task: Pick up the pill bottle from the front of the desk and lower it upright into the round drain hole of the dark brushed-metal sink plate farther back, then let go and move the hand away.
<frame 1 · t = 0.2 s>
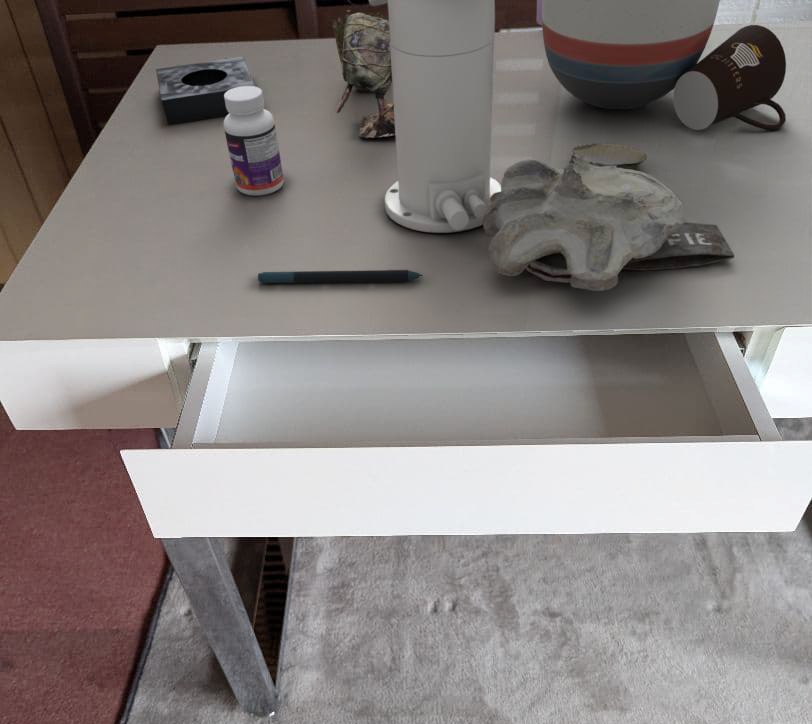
planter: (615, 101, 100), on the table, touching coffee mug
green rounded lump: (367, 89, 108), on the table
clip: (602, 23, 120), on the table
plant with pod: (385, 130, 99), on the table
pill bottle: (261, 187, 90), on the table
seashell: (604, 172, 88), on the table
fossil: (608, 228, 79), touching dark snack bar packet
dark snack bar packet: (622, 260, 76), on the table, touching fossil
pen: (403, 283, 72), point 2 cm above the table
coffee mug: (704, 106, 91), point 3 cm above the table, touching planter
headphones: (378, 51, 118), on the table
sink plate: (209, 101, 108), on the table
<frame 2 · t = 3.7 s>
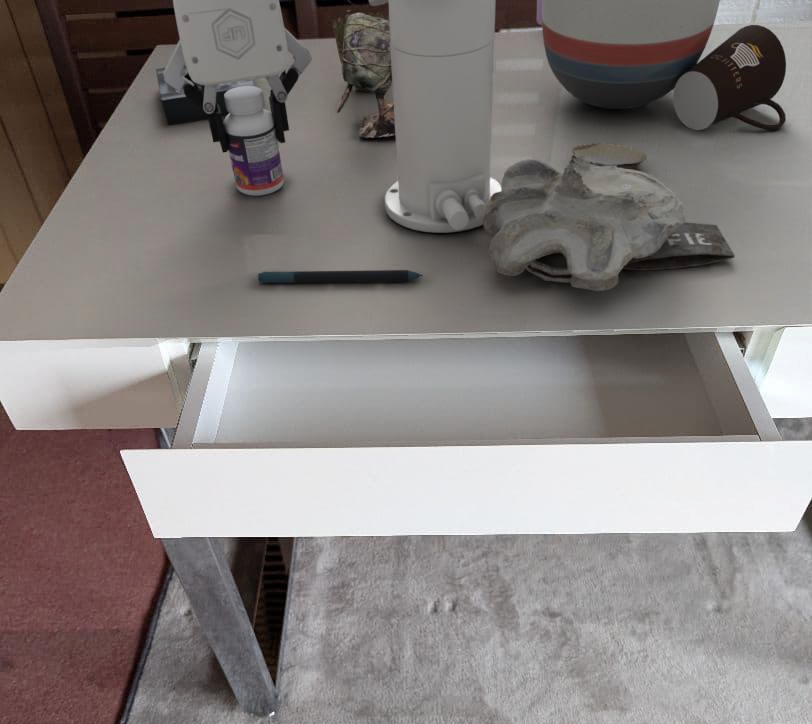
hand: (252, 141, 86), 5 cm above the table, tool pointing down, fingers closed on pill bottle, 5 cm apart
planter: (615, 101, 100), on the table
pill bottle: (261, 187, 90), on the table, touching gripper
coffee mug: (704, 106, 91), point 3 cm above the table
everything else where it was.
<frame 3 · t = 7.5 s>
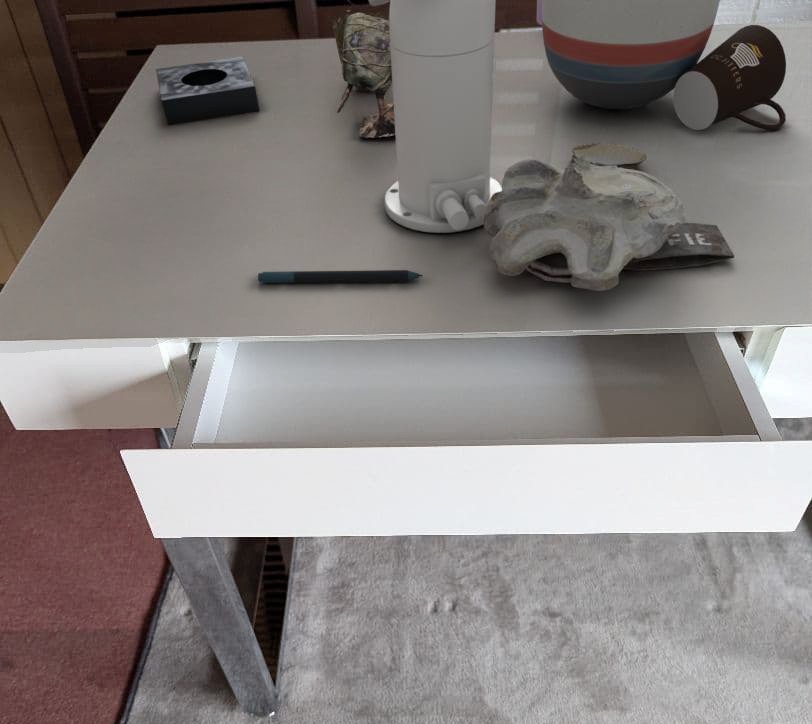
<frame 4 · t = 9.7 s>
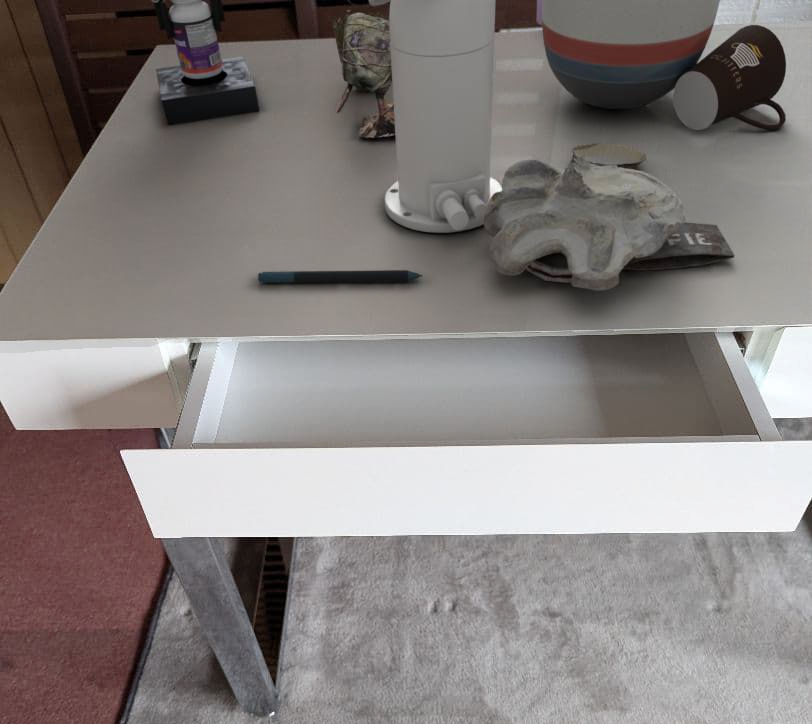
hand: (193, 30, 101), 8 cm above the table, tool pointing down, fingers closed on pill bottle, 5 cm apart
pill bottle: (203, 74, 105), point 3 cm above the table, touching gripper
everything else where it was.
when the fingers open (5 cm above the table, at t = 11.2 s): pill bottle stays where it is, resting in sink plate.
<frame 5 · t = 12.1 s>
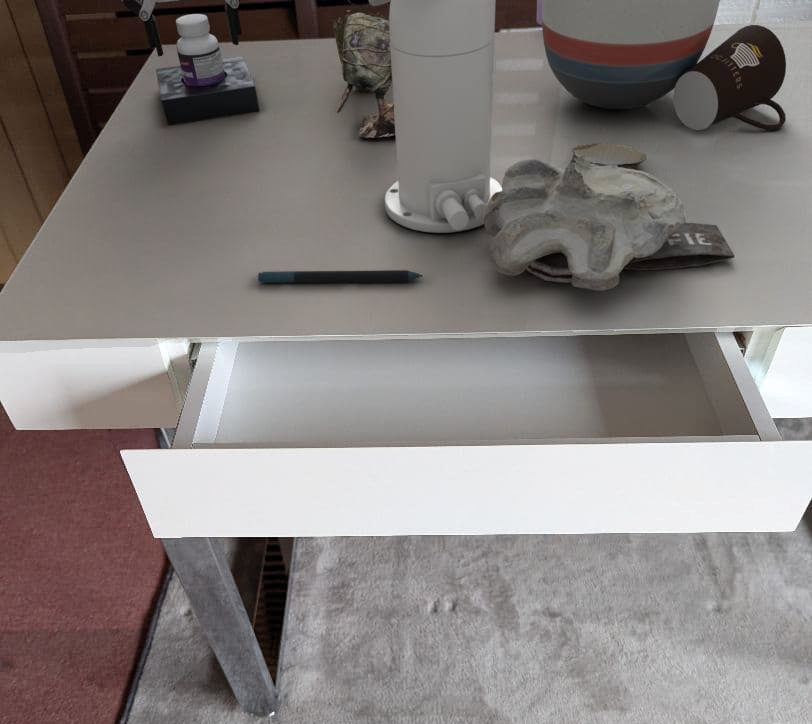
hand: (197, 47, 103), 7 cm above the table, tool pointing down, fingers open, 9 cm apart
pill bottle: (210, 103, 108), resting in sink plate
everything else where it was.
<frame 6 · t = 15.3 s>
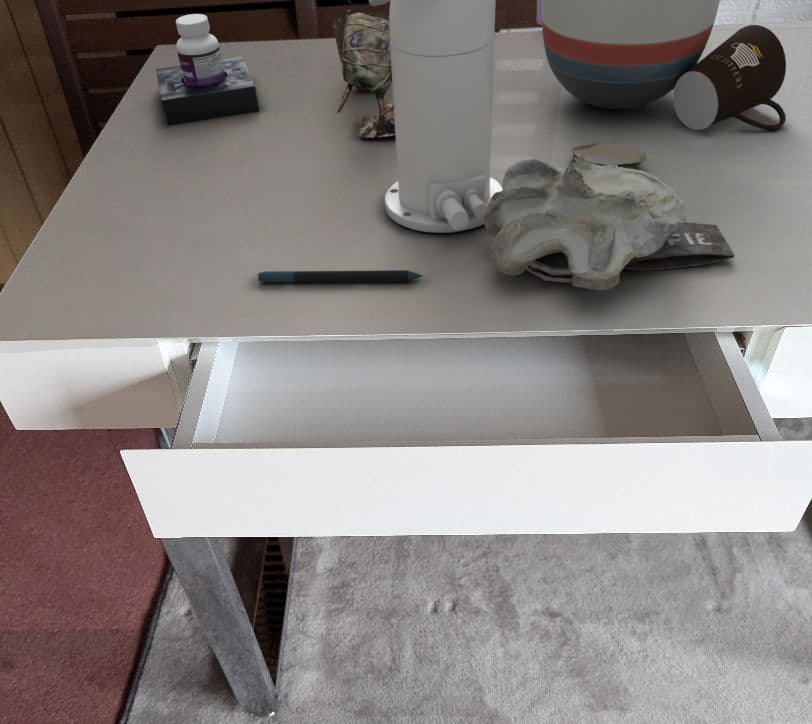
nothing on the table moved.
at the end: pill bottle 0.1 cm off-centre in the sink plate, point 0.0 cm above the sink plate's base; pill bottle tilted 0°; the gripper is holding nothing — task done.
